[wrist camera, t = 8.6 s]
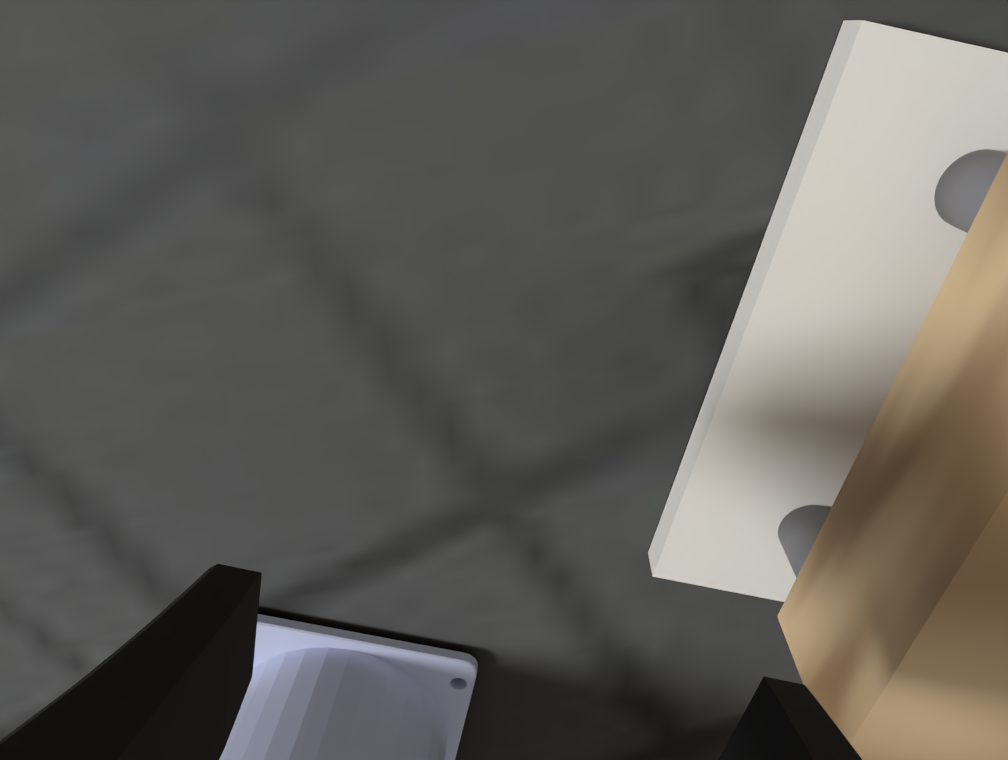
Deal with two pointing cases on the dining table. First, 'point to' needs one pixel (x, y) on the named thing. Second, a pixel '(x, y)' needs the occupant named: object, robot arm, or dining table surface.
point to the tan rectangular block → (923, 537)
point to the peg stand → (833, 301)
